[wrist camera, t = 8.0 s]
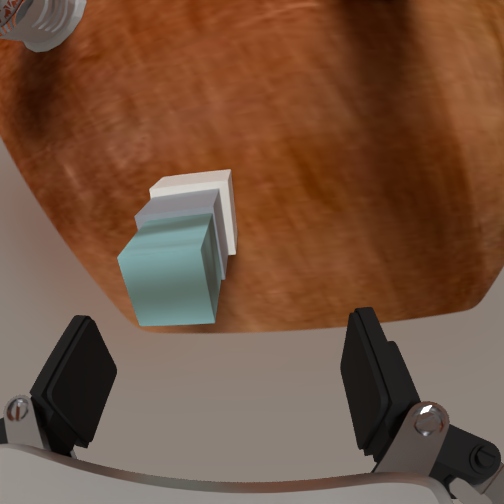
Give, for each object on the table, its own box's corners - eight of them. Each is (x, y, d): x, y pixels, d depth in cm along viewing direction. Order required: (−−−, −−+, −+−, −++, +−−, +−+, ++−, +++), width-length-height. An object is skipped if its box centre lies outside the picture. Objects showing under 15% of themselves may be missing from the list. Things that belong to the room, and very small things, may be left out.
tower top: (153, 197, 26) (134, 216, 22) (219, 188, 26) (213, 206, 22) (166, 257, 29) (153, 285, 25) (228, 251, 29) (225, 279, 24)
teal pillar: (146, 220, 22) (117, 257, 17) (212, 212, 22) (200, 249, 17) (160, 278, 24) (140, 326, 19) (221, 274, 24) (215, 323, 19)
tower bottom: (163, 176, 31) (149, 189, 26) (230, 169, 30) (227, 180, 26) (174, 238, 34) (163, 259, 29) (237, 233, 34) (235, 254, 29)
